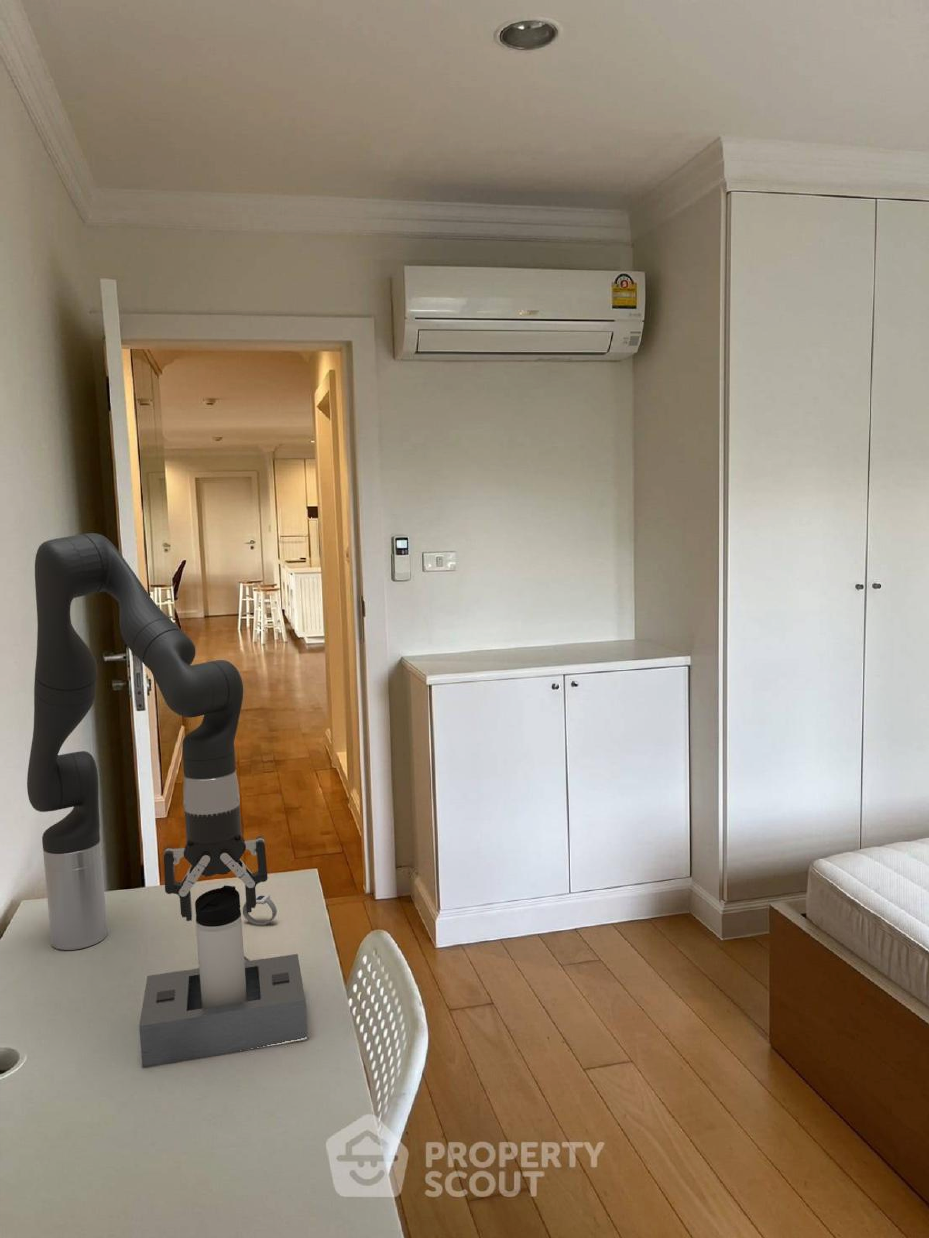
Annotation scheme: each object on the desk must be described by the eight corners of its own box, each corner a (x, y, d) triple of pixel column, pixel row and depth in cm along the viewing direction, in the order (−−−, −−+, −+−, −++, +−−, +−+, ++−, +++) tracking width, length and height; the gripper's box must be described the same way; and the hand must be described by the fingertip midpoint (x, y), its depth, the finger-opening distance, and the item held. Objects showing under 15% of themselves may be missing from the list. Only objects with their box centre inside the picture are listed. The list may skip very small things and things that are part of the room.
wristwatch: (241, 926, 166) (239, 899, 166) (247, 919, 169) (246, 893, 168) (272, 928, 165) (271, 901, 164) (279, 921, 168) (277, 895, 167)
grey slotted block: (150, 1013, 138) (147, 974, 137) (299, 990, 143) (297, 952, 142) (142, 1067, 124) (139, 1024, 124) (307, 1039, 130) (305, 998, 129)
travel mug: (257, 1017, 136) (249, 887, 133) (232, 1042, 130) (223, 906, 127) (221, 1010, 138) (212, 882, 136) (194, 1035, 132) (184, 901, 129)
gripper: (263, 790, 135) (269, 897, 137) (160, 801, 132) (168, 910, 134) (265, 806, 128) (271, 918, 130) (156, 817, 124) (165, 933, 126)
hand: (219, 914), depth 132 cm, fingers open, 8 cm apart
